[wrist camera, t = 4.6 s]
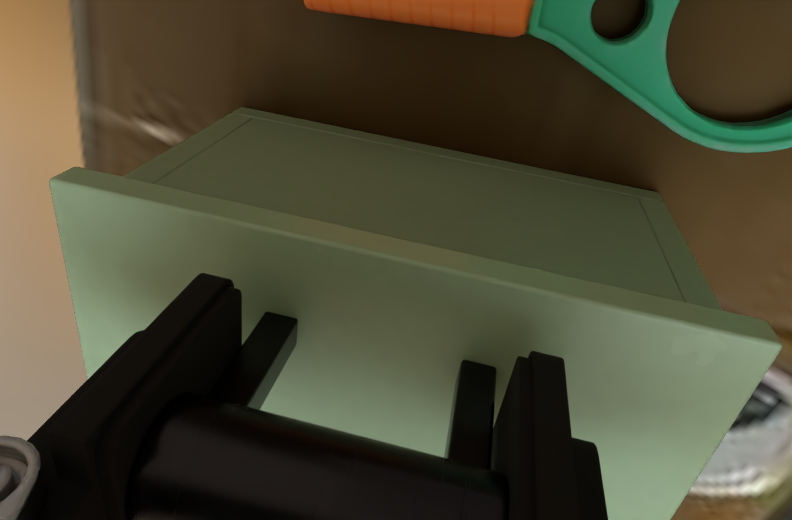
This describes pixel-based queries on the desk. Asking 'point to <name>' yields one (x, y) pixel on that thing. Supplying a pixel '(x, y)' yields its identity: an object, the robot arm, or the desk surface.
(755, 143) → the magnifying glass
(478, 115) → the desk surface
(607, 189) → the storage box
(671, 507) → the lid
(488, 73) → the desk surface
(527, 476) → the robot arm
